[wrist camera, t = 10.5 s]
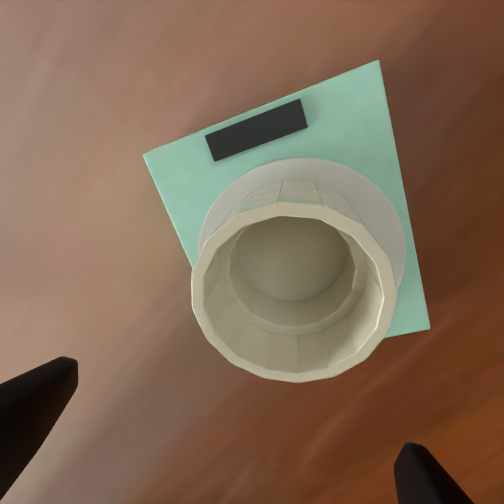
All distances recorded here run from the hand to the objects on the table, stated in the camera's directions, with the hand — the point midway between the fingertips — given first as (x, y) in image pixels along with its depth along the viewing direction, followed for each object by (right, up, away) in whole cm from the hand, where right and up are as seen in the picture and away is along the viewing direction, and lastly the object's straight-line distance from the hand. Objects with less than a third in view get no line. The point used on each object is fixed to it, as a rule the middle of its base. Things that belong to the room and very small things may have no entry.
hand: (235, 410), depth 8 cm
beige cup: (+2, +4, +7) cm, 8 cm away
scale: (+3, +5, +9) cm, 11 cm away
